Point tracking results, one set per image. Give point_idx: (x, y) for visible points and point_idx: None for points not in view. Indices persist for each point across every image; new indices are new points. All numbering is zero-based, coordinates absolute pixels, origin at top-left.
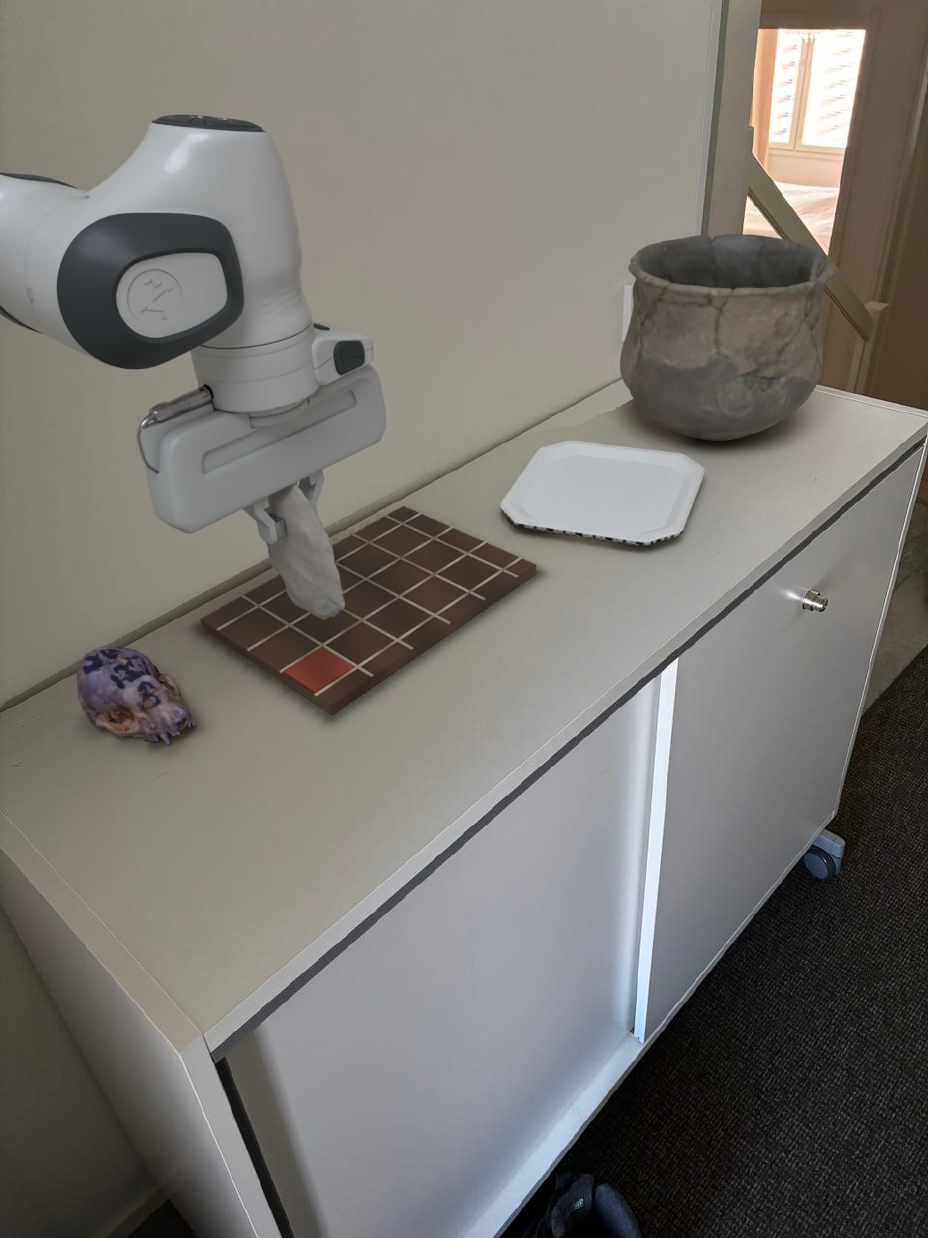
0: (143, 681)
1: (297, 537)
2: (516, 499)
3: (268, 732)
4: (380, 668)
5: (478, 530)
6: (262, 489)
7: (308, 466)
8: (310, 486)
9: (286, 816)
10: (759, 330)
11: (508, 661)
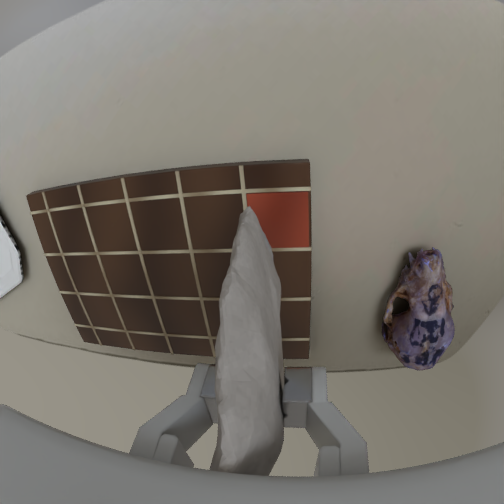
0: (428, 315)
1: (273, 350)
2: (11, 276)
3: (370, 192)
4: (225, 170)
5: (47, 276)
6: (353, 502)
7: (166, 491)
8: (176, 432)
9: (427, 87)
10: None
11: (112, 96)
